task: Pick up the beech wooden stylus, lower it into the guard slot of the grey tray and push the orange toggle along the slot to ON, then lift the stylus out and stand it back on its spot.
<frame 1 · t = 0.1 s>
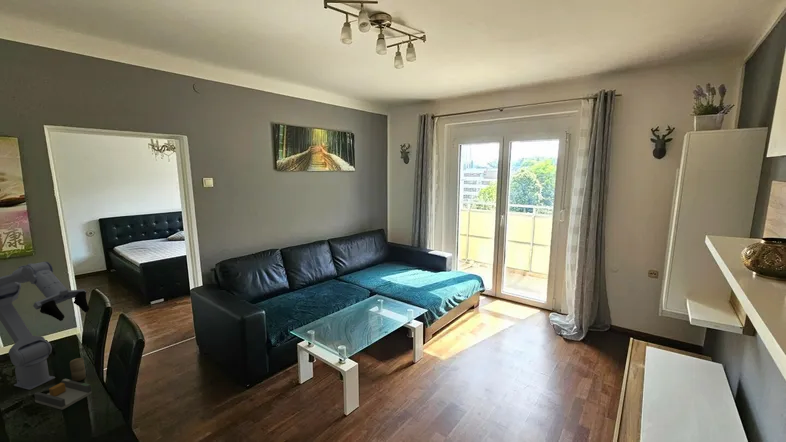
hand: (75, 314, 118), 32 cm above the table, tool tilted 50°, fingers open, 7 cm apart
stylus: (79, 379, 132), on the table
grey tray: (64, 397, 121), on the table
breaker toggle: (57, 389, 121), point 3 cm above the table, slide at 0.0 cm
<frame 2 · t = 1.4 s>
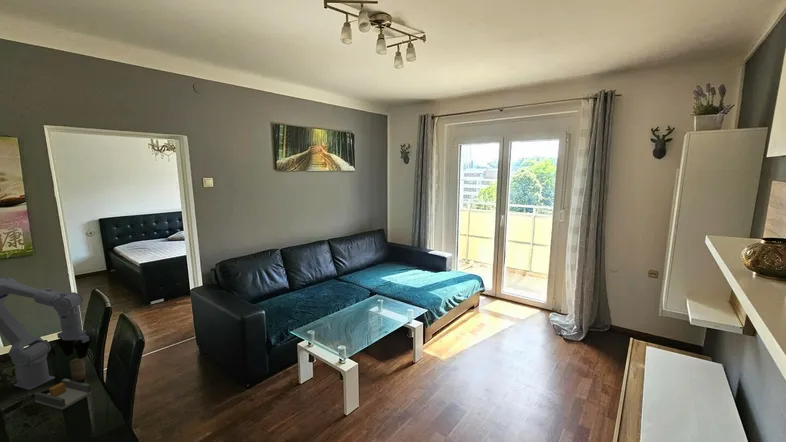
hand: (76, 356, 131), 10 cm above the table, tool pointing down, fingers open, 7 cm apart
nothing on the table moved.
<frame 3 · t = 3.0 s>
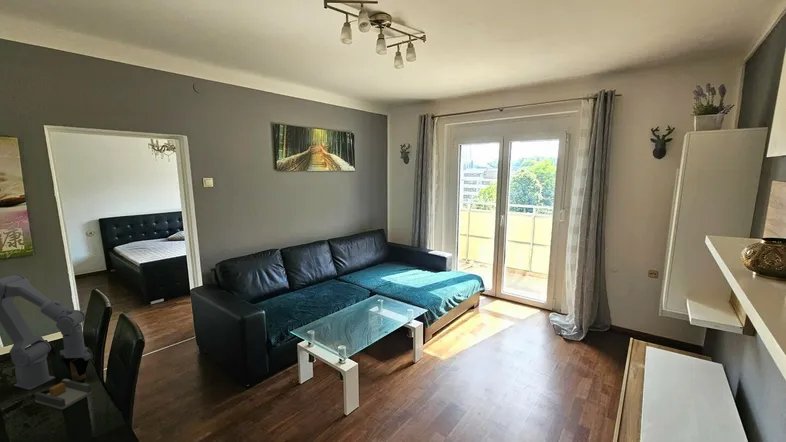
hand: (78, 373, 132), 2 cm above the table, tool pointing down, fingers closed on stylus, 4 cm apart
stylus: (79, 378, 132), on the table, touching gripper
everything else where it was.
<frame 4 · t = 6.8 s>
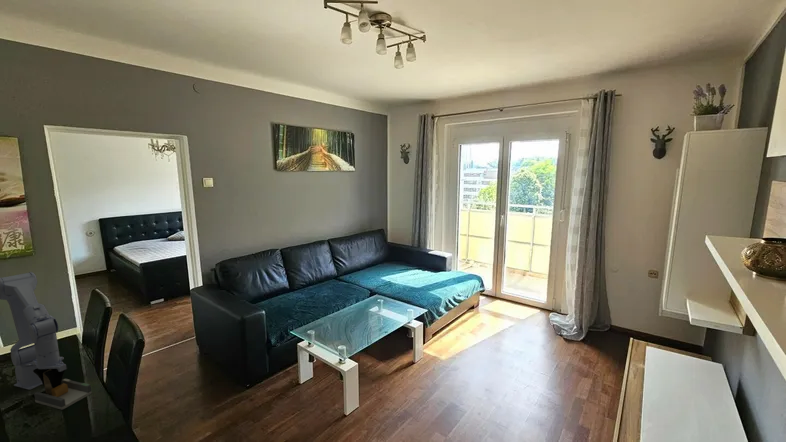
hand: (52, 385, 122), 4 cm above the table, tool pointing down, fingers closed on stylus, 4 cm apart
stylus: (53, 391, 122), point 2 cm above the table, touching gripper
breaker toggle: (59, 390, 121), point 3 cm above the table, slide at 1.3 cm, touching gripper
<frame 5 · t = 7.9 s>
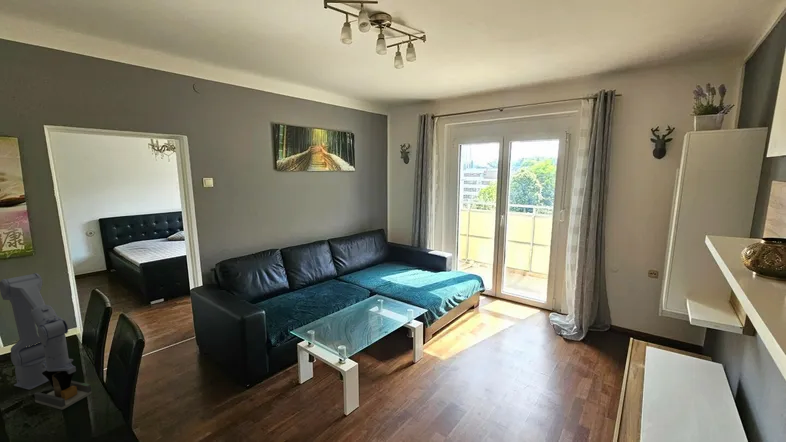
hand: (61, 387, 121), 4 cm above the table, tool pointing down, fingers closed on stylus, 4 cm apart
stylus: (62, 393, 121), point 2 cm above the table, touching gripper
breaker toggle: (69, 392, 120), point 3 cm above the table, slide at 6.2 cm, touching gripper
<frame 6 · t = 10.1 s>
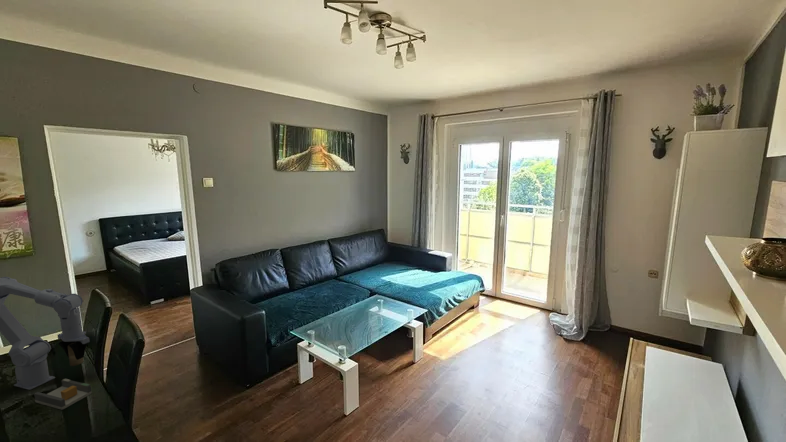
hand: (76, 357, 131), 9 cm above the table, tool pointing down, fingers closed on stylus, 4 cm apart
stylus: (76, 363, 131), point 7 cm above the table, touching gripper
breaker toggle: (69, 392, 120), point 3 cm above the table, slide at 6.2 cm
when the fingers open (3 cm above the table, at t = 11.8 s): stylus stays where it is, on the table.
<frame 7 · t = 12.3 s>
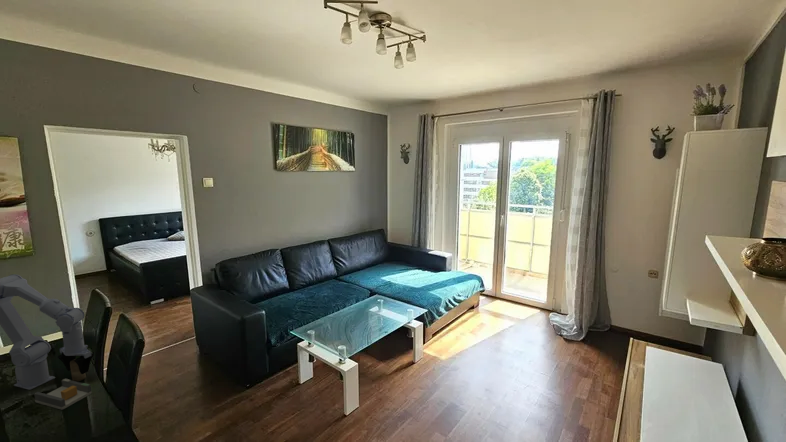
hand: (78, 371, 132), 3 cm above the table, tool pointing down, fingers open, 7 cm apart
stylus: (79, 378, 132), on the table
everything else where it was.
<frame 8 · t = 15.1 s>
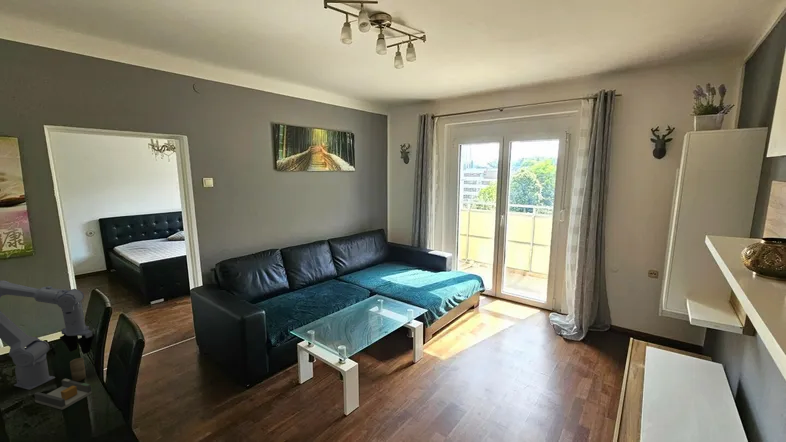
hand: (80, 351, 133), 10 cm above the table, tool pointing down, fingers open, 7 cm apart
nothing on the table moved.
at the end: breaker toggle slide at 6.2 cm; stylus inside the target area (0.0 cm from its centre), on the table; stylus tilted 0° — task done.
